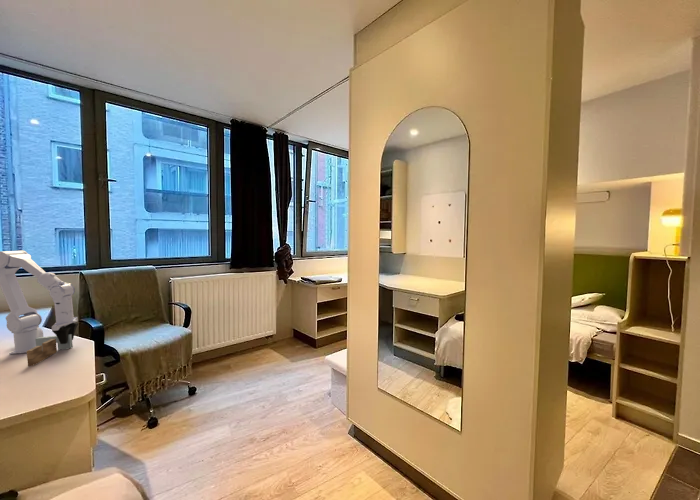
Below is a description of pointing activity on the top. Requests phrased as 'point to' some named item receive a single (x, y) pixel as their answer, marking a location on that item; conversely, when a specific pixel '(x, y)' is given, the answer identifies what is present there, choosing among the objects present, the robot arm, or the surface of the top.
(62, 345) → the pale green bar
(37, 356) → the walnut plate
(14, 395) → the top surface
